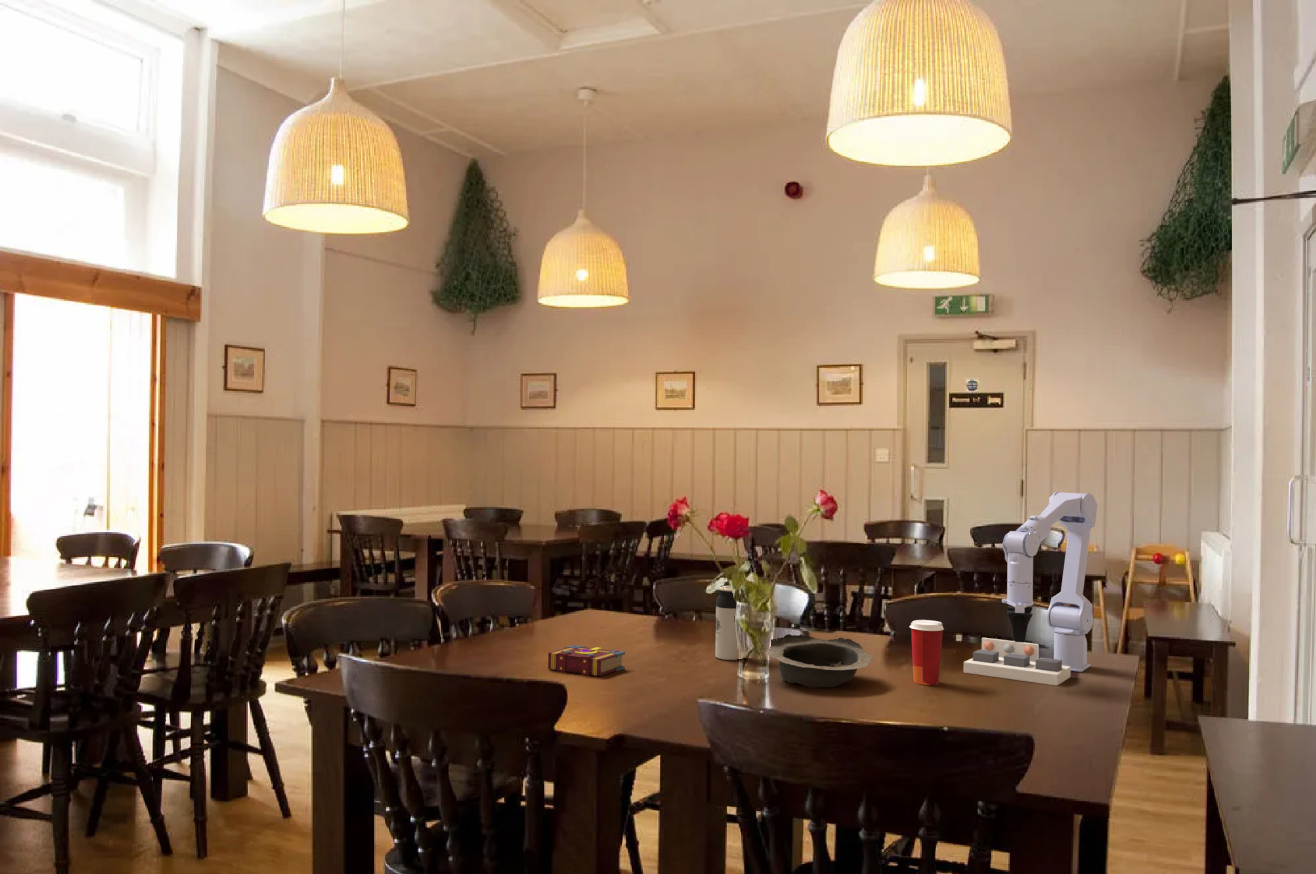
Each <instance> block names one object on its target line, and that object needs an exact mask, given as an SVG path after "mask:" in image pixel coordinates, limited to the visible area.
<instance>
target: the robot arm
mask: <svg viewBox="0 0 1316 874" xmlns="http://www.w3.org/2000/svg"><path fill="white" fill-rule="evenodd" d="M1097 511H1098V504H1097V501H1096V498H1095V497H1094V495H1093V494H1092V493H1090V492H1086V493H1083V492H1081V493H1080V492H1061V491H1055V492H1054V493H1052V495H1051V496H1049V500H1048V505H1047V506H1046V507H1045V509H1044V510H1043V511H1042V512H1041V513H1040V514H1039V515H1030V516H1029V517H1028V519H1027V521H1025V522H1024V523H1023V524H1022V525H1020V527H1018V528H1017V529H1016V530H1014V531H1013V530H1010V531H1009V532H1008V533H1006V534H1005V535H1004V538H1003V541H1002V545H1001V546H1002V550H1003V553H1004V560H1005V561H1006V563H1007V574H1006V575H1007V579H1006V582H1007V585H1006V586H1007V587H1006V588H1007V589H1006V590H1007V591H1006V593H1007V594H1006V595H1007V596H1006V599H1005V598H1002V599H1001V603H1003V604H1008V605H1009V606H1007V611H1006V615H1007V616H1008V618H1009V621H1010V623H1011V629H1012V635H1013V641H1015V642H1023V643H1025V641H1026V637H1027V631H1028V626H1029V623H1030V621H1031V619H1032V617H1033V614H1034V613H1032V610H1033V607H1032V606H1033V605H1034V601H1033V597H1034V596H1033V594H1034V588H1033V587H1034V582H1033V581H1034V580H1033V579H1034V556H1036V555H1037V553H1038V551H1039V547H1040V546H1041V543H1042V541H1043V540H1044V539H1045V538H1047V537H1048V536H1049V535H1050V533H1051V531H1052V529H1051V526H1053V525H1054V524H1055V523H1057V522H1059V524H1060V525H1062V526H1064V527H1065V528H1066V529H1067V531H1068V532H1067V533H1068V534H1067V540H1066V541H1067V543H1066V550H1065V556H1064V557H1065V558H1064V564H1063V573H1062V580H1061V581H1062V582H1061V587H1060V589H1061V590H1060V592H1059V593H1057V594H1056V595H1054V596H1052V597H1050V598H1051V599H1050V603H1049V606H1048V609H1047V611H1046V615H1045V617H1046V622H1047V624H1048V626H1049V628H1051V632H1053V659H1058V660H1062V666H1070V667H1071V672H1078V673H1079V672H1080V673H1083V672H1084V671H1086V670H1087V669H1089V668H1090V667H1091V666H1092V664H1090V663H1088V657H1087V656H1088V642H1087V638H1086V634H1088V633H1090V631H1091V630H1092V628H1093V625H1094V615H1093V603H1092V602H1090V600H1088V599H1087V597H1085V596H1084V589H1085V588H1084V587H1085V580H1086V579H1085V578H1086V571H1087V562H1088V554H1089V553H1088V552H1089V545H1090V538H1091V529H1093V528H1094V527H1095V526H1096V521H1097Z"/></svg>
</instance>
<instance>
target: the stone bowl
mask: <svg viewBox="0 0 1316 874" xmlns="http://www.w3.org/2000/svg"><path fill="white" fill-rule="evenodd" d="M770 639H771V638H770ZM766 655H767V656H769V657H771V658H773V659H777V660H778V661H779V663H778V667H779V674H780V677H781V679H782V681H784V682H787V683H788V684H798V685H801V686H805V687H807V688H810V689H817V688H836V687H838V686H840V685H842V684H845V683H848V682H849V681H851V680H852V679H853V678H854V677H855V675H856V673H857V670H858V669H860V668H865V667H868V665H869V664H870V662H872V661H874V659H873V656H872V654H871V653H868V652H867V651H866V650H864V648H863V646H861V644H860V643H859V642H856V641H853V640H852V639H851V638H843V637H838V638H834V639H831V638H830V639H826V640H825V639H822V638H817V637H813V636H809V635H808V634H805V635H803V633H801V634H799V635H797V634H793V635H792V634H790V633H788V634H786V635H784V636H782V637H777V638H772V639H771V647H770V649H769V652H768V654H767V653H766Z"/></svg>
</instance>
